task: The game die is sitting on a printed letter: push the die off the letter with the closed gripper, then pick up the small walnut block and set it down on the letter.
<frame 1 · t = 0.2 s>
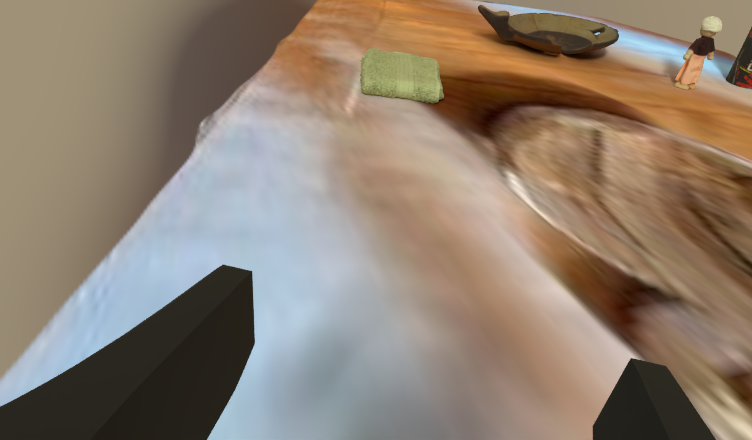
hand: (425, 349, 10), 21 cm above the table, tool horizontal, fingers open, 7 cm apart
washcloth: (399, 84, 86), on the table
grandmother figurine: (682, 87, 101), on the table
oil lamp: (539, 48, 113), on the table
deodorant: (741, 84, 108), on the table
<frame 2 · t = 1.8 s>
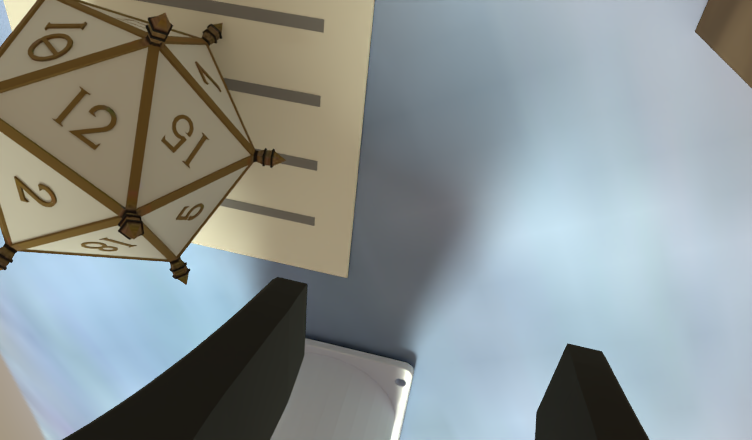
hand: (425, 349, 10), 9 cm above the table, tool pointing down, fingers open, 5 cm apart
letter: (179, 31, 18), on the table
game die: (186, 87, 19), resting on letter
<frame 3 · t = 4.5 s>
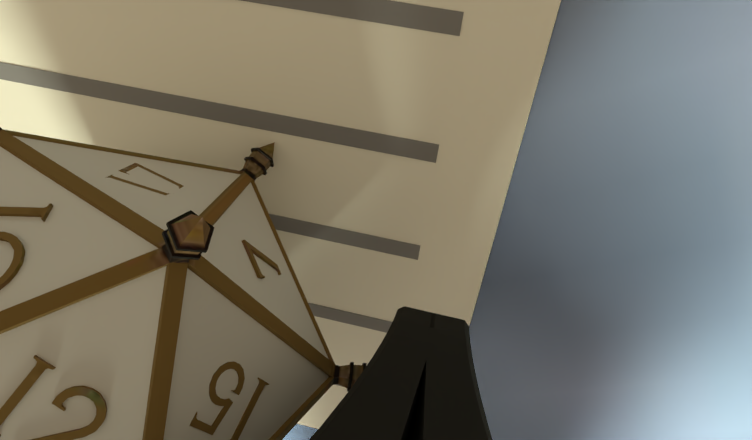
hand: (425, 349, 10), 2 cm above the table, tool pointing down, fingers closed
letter: (206, 149, 12), on the table
game die: (214, 221, 13), resting on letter, touching gripper
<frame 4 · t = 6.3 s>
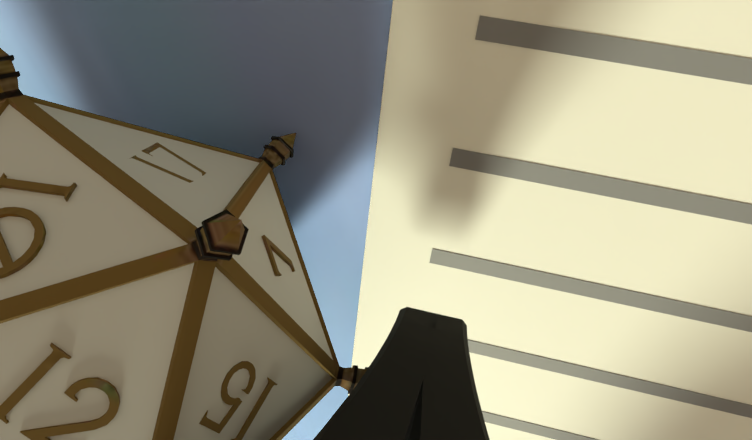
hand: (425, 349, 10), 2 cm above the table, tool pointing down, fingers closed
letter: (692, 246, 11), on the table
game die: (222, 203, 13), on the table, touching gripper
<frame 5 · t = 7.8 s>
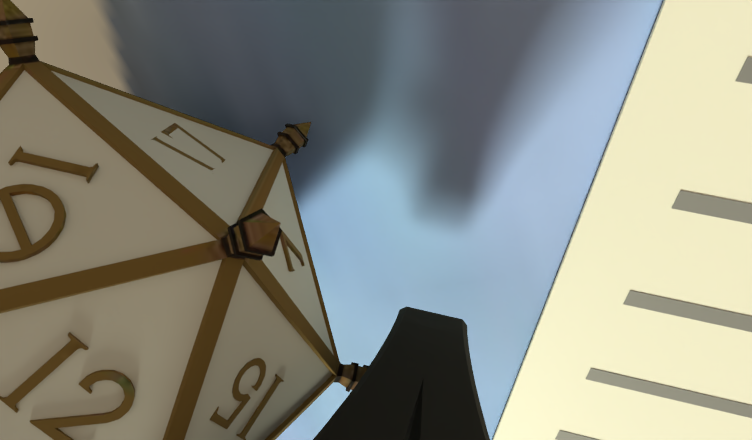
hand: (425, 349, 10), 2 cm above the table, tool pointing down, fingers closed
game die: (223, 184, 13), on the table, touching gripper
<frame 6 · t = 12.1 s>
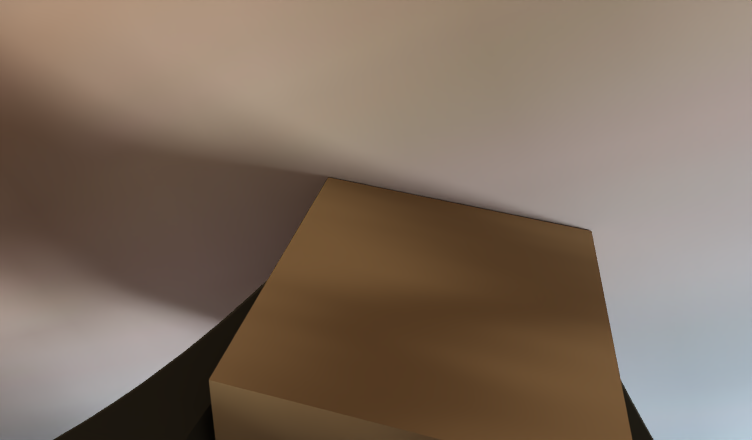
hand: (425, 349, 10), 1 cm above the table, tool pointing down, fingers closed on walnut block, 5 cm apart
walnut block: (434, 300, 12), on the table, touching gripper
when the fingers open (3 cm above the table, at t = 15.4 s): walnut block stays where it is, resting on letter.
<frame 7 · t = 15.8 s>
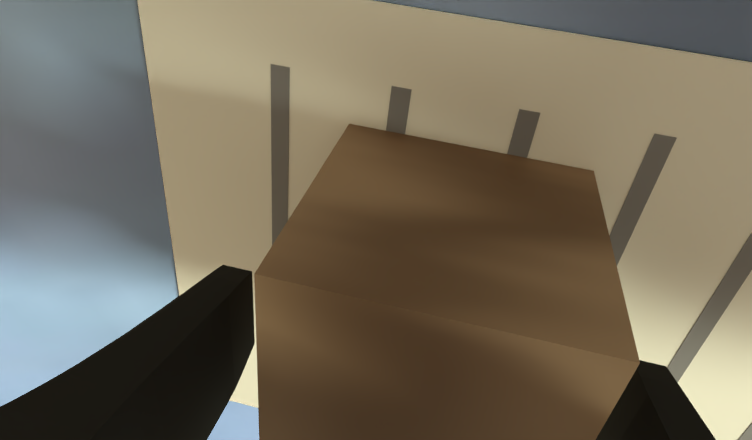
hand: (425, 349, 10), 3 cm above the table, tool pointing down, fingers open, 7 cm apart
walnut block: (446, 243, 12), resting on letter
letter: (516, 307, 13), on the table
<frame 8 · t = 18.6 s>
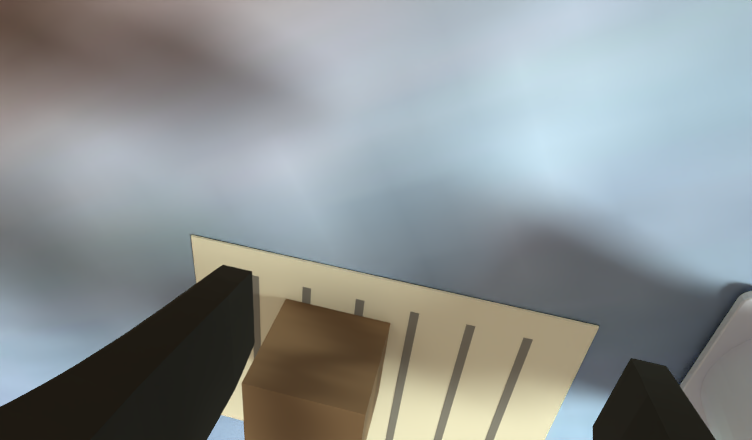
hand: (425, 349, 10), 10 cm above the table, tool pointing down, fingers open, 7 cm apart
walnut block: (334, 347, 26), resting on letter
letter: (371, 375, 27), on the table
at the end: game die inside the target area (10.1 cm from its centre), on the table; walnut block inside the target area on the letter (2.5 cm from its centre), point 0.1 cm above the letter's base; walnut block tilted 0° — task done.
